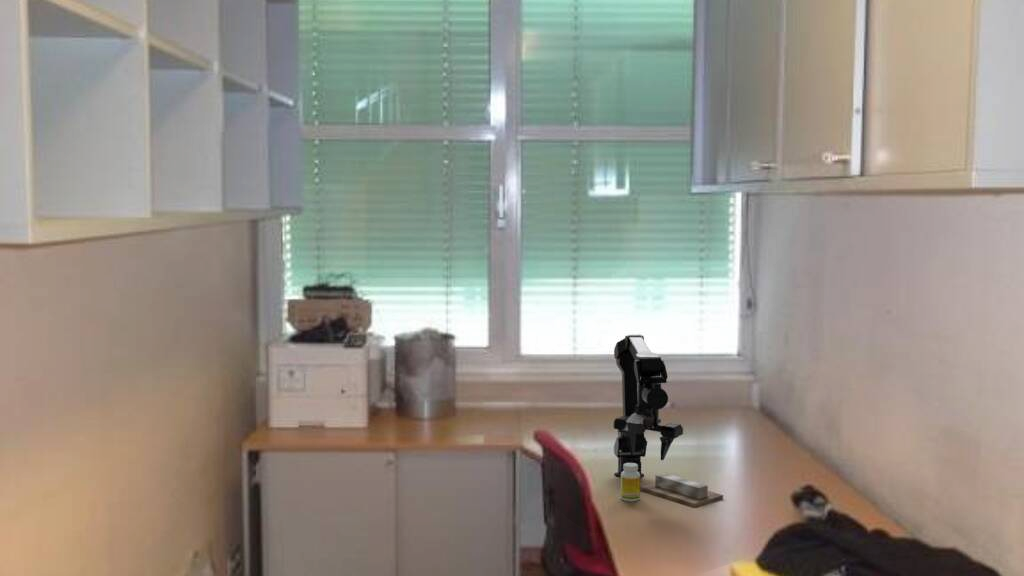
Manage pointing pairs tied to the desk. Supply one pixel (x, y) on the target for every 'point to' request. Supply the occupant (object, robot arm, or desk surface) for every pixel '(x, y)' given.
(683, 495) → the ridge board
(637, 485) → the supplement bottle
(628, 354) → the robot arm
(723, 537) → the desk surface
